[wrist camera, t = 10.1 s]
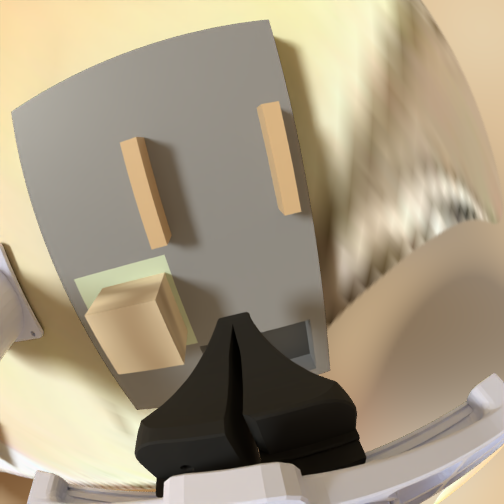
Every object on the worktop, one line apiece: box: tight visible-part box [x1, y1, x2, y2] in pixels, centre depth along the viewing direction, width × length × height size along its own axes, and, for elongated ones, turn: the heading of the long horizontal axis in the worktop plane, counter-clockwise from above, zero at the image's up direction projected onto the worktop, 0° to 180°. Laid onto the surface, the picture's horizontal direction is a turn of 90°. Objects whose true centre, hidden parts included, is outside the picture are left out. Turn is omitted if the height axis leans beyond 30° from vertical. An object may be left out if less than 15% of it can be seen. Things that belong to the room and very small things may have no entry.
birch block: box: [85, 272, 188, 374], centre depth 15 cm, size 4×4×3 cm
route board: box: [11, 20, 330, 410], centre depth 15 cm, size 15×22×4 cm
